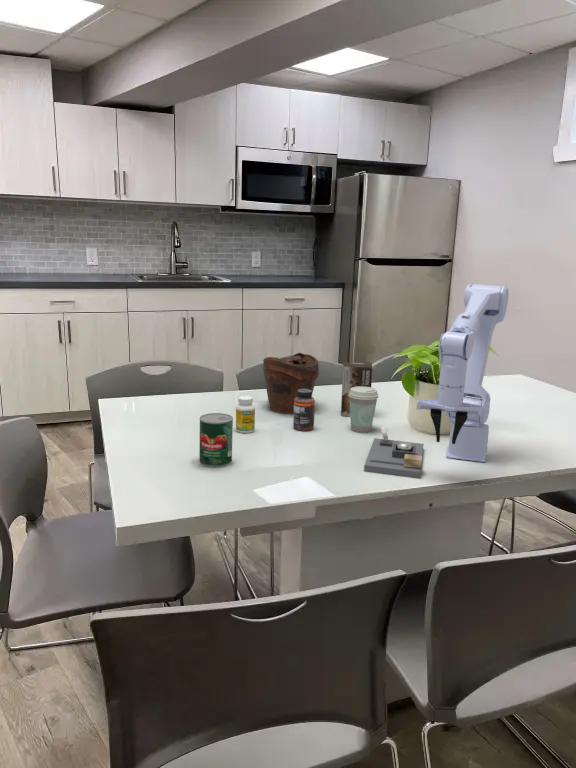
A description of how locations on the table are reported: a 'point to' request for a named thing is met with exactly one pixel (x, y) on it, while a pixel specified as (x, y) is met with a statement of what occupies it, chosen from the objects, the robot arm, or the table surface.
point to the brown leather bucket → (288, 379)
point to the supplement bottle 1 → (245, 415)
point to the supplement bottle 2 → (304, 410)
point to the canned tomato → (216, 440)
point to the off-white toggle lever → (384, 433)
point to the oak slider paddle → (412, 461)
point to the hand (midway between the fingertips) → (445, 441)
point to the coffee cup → (362, 408)
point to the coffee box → (354, 381)
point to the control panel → (391, 458)
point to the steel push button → (404, 446)
